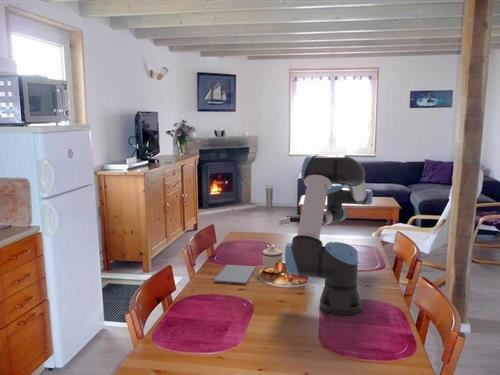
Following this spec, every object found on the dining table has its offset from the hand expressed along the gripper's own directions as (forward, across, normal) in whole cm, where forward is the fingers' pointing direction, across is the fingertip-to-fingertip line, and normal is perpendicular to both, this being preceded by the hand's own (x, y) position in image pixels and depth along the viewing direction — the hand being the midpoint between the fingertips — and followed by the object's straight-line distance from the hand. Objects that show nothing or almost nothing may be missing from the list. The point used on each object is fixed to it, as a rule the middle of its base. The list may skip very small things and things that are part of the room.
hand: (288, 224), depth 204 cm
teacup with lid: (+10, 0, -20) cm, 22 cm away
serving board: (+27, +5, -19) cm, 34 cm away
